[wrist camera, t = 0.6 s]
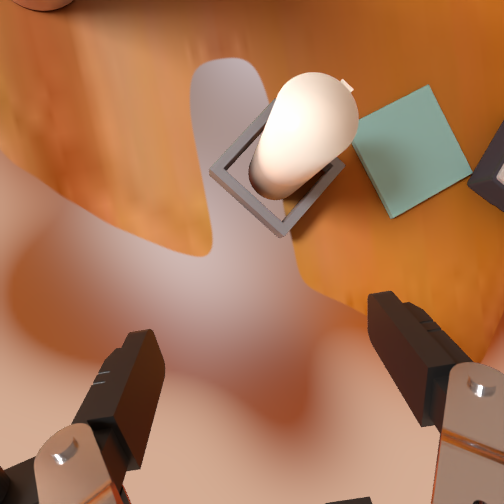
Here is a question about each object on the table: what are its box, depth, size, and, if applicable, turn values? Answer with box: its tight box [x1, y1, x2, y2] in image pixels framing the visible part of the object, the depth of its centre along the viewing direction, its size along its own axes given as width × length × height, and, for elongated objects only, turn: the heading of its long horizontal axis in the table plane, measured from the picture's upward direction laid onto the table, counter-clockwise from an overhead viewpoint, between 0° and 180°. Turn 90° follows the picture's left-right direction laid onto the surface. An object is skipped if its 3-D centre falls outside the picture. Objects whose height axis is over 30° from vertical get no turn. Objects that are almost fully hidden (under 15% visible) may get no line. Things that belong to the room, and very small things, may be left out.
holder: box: [209, 98, 346, 238], centre depth 33 cm, size 10×10×2 cm
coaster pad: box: [352, 84, 473, 219], centre depth 37 cm, size 12×12×1 cm
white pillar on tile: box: [249, 72, 359, 200], centre depth 28 cm, size 8×6×14 cm
